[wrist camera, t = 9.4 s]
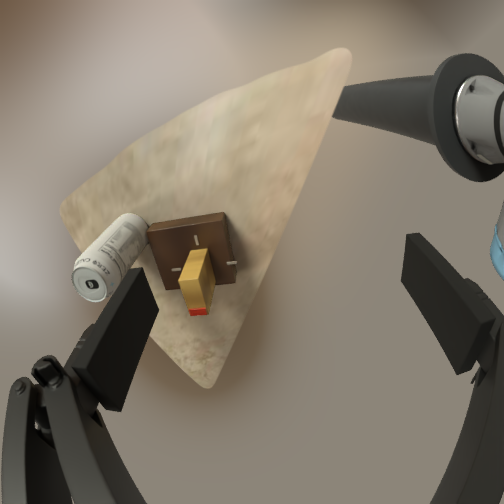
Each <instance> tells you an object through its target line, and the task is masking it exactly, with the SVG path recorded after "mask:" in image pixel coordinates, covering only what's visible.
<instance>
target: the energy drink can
mask: <svg viewBox="0 0 504 504" xmlns="http://www.w3.org/2000/svg"><path fill="white" fill-rule="evenodd" d="M148 229H149V228H148V226H147V224H146V222H145V221H144V220H143V219H142V218H141V217H139V216H137V215H135V214H130V213H128V214H123V215H121V216H120V217H119V218H117V219H116V220H115V221H114V222H113V223H112V224H111V225H110V226H109V227H108V228H107V229H106V230H105V231H104V232H103V233H102V234H101V235H100V236H99V237H98V238H97V239H96V240H95V241H94V242H93V243H92V244H91V245H90V246H89V247H88V248H87V249H86V250H85V251H84V252H83V253H82V255H81V256H80V257H79V258H78V259H77V260H76V262H75V266H74V271H73V273H72V283H73V286H74V288H75V290H76V291H77V292H78V293H79V294H80V295H81V296H82V297H83V298H85V299H87V300H89V301H92V302H100V301H102V300H103V299H105V298H106V297H109V296H111V295H113V294H114V292H115V290H116V289H117V287H118V286H119V284H120V283H121V281H122V280H123V278H124V277H125V275H126V274H127V272H128V271H129V269H130V268H131V266H132V265H133V263H134V262H135V260H136V259H137V258H138V256H139V255H140V253H141V252H142V250H143V249H144V247H145V246H146V244H147V243H148V241H149V240H148V237H147V233H146V231H147V230H148Z"/></svg>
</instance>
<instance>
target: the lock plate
mask: <svg viewBox="0 0 504 504" xmlns="http://www.w3.org/2000/svg"><path fill="white" fill-rule="evenodd" d="M146 233H147V237H148V240H149V243H150V246H151V249H152V252H153V255H154V258H155V261H156V264H157V267H158V270H159V272H160V275H161V278H162V281H163V284H164V286H165V289H166V290H173V289H181V287H180V284H179V281H178V280H179V278H180V275H181V273H182V270H183V268H184V265H185V263H186V260H187V258H188V256H189V253H190V251H191V250H199V249H207V248H208V252H209V256H210V260H211V264H212V268H213V272H214V276H215V280H216V283H215V285H223V284H232V283H235V282H236V273H237V271H236V267H235V264H237V261H234V257H233V252H232V248H231V243H230V238H229V233H228V228H227V223H226V218H225V213H224V212H221V213H215V214H208V215H202V216H195V217H189V218H183V219H177V220H171V221H165V222H159V223H153V224H152V225H151V226H150V228H149V229H148V230H147V231H146Z"/></svg>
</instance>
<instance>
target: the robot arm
mask: <svg viewBox="0 0 504 504" xmlns="http://www.w3.org/2000/svg"><path fill="white" fill-rule="evenodd" d="M452 121H453V126H454V130H455V134H456V136H457V139H458V141H459V143H460V145H461V146H462V148H463V149H464V151H465V152H466V153H467V154H468V155H469V156H470V157H472V158H473V159H475V160H478V161H480V162H483V163H488V164H495V163H504V84H502V83H500V82H498V81H496V80H494V79H493V78H490V77H487V76H484V75H471V76H468V77H466V78H465V79H463V80H462V81H461V82H460V83H459V85H458V86H457V88H456V91H455V93H454V97H453V102H452ZM490 256H491V260H492V263H493V266H494V268H495V269H496V271H497V273H498V274H499V275H500V277H501V278H502V279H503V280H504V202H503V206H502V210H501V213H500V216H499V219H498V222H497V224H496V226H495V234H494V237H493V241H492V244H491V248H490ZM401 282H402V283H403V285H404V286H405V288H406V289H407V291H408V292H409V294H410V296H411V297H412V299H413V300H414V302H415V303H416V305H417V306H418V308H419V310H420V311H421V313H422V315H423V316H424V318H425V319H426V321H427V323H428V324H429V326H430V328H431V329H432V331H433V333H434V335H435V336H436V338H437V340H438V341H439V343H440V345H441V347H442V349H443V350H444V352H445V354H446V356H447V358H448V360H449V361H450V363H451V365H452V367H453V369H454V371H455V373H456V375H459V374H461V373H464V372H467V371H469V370H471V369H472V367H473V365H474V363H475V362H476V360H477V361H478V363H479V364H480V367H479V369H478V371H477V372H476V374H475V376H474V377H473V379H472V381H471V384H473V382H474V381H475V385H474V388H473V393H472V396H471V401H470V404H469V408H468V411H467V414H466V418H465V421H464V424H463V427H462V430H461V433H460V436H459V439H458V442H457V444H456V447H455V450H454V452H453V455H452V458H451V460H450V462H449V465H448V467H447V469H446V472H445V474H444V476H443V478H442V480H441V483H440V485H439V487H438V489H437V491H436V493H435V495H434V497H433V499H432V501H431V502H430V504H499V503H500V500H501V498H502V495H503V492H504V315H503V314H502V313H501V312H500V310H499V309H498V308H497V307H496V305H495V304H494V303H493V302H492V301H491V300H490V299H489V298H488V296H487V295H486V294H485V293H483V290H482V289H481V288H480V287H479V286H478V285H477V284H476V283H475V282H473V281H472V280H470V279H468V278H466V279H463V278H462V277H461V275H460V274H459V273H458V272H457V271H456V270H455V269H454V268H453V267H452V266H451V264H450V263H449V262H448V261H447V260H446V259H445V258H444V257H443V256H442V255H441V254H440V253H439V252H438V251H437V250H436V249H435V248H434V247H433V246H432V245H431V244H430V243H429V242H428V241H427V240H426V239H425V238H424V237H423V236H422V235H421V234H420V233H412V234H407V235H406V244H405V253H404V261H403V270H402V277H401ZM158 312H159V308H158V306H157V304H156V301H155V299H154V296H153V294H152V291H151V289H150V286H149V283H148V281H147V278H146V276H145V273H144V270H143V268H142V267H141V268H132V269H129V271H128V272H127V274H126V275H125V277H124V278H123V280H122V281H121V283H120V284H119V286H118V287H117V289H116V290H115V292H114V294H113V295H112V297H111V298H110V300H109V302H108V303H107V305H106V306H105V308H104V310H103V311H102V313H101V315H100V316H99V318H98V320H97V321H96V323H95V324H91V325H90V326H89V327H88V328H87V329H86V330H85V331H84V333H83V335H82V336H81V338H80V341H78V343H77V345H76V348H74V350H73V352H72V353H71V355H70V357H69V359H68V360H67V362H66V364H65V366H64V368H63V367H62V366H61V364H60V363H59V362H58V361H57V359H56V358H55V357H54V356H52V355H47V356H44V357H42V358H41V359H39V360H38V361H37V362H36V363H35V364H34V366H33V368H32V372H31V374H32V375H33V377H34V378H35V379H36V380H37V382H38V383H39V384H35V385H34V384H33V383H32V382H31V380H30V379H29V378H27V377H21V378H19V379H17V380H16V381H15V382H14V383H13V385H12V386H11V389H10V394H9V399H8V405H7V411H6V418H5V427H4V437H3V448H2V450H3V451H2V475H1V476H2V504H72V498H73V501H74V503H75V504H147V503H146V502H145V500H144V498H143V497H142V495H141V493H140V492H139V490H138V488H137V487H136V485H135V483H134V481H133V480H132V478H131V476H130V474H129V473H128V471H127V469H126V467H125V465H124V463H123V461H122V459H121V457H120V455H119V453H118V451H117V449H116V447H115V445H114V443H113V441H112V439H111V437H110V434H109V432H108V430H107V428H106V425H105V423H104V421H103V418H102V416H101V413H100V412H99V411H98V409H97V406H98V403H99V402H100V403H101V405H102V406H103V407H104V408H105V409H106V410H111V411H117V412H121V411H122V408H123V405H124V402H125V399H126V396H127V393H128V390H129V387H130V385H131V382H132V379H133V376H134V374H135V371H136V368H137V365H138V363H139V360H140V357H141V355H142V352H143V349H144V347H145V344H146V342H147V339H148V337H149V334H150V332H151V329H152V327H153V324H154V322H155V319H156V317H157V314H158ZM35 422H36V423H37V424H38V429H36V428H35ZM71 496H72V498H71Z"/></svg>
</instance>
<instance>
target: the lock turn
mask: <svg viewBox="0 0 504 504" xmlns="http://www.w3.org/2000/svg"><path fill="white" fill-rule="evenodd" d="M178 281H179V284H180V287H181V290H182V293H183V296H184V299H185V302H186V305H187V308H188V311H189V314H190V316H197V315H208V314H209V311H210V306H211V301H212V297H213V292H214V287H215V283H216V280H215V276H214V272H213V268H212V264H211V260H210V256H209V252H208V248H207V249H199V250H191V251H190V253H189V256H188V258H187V260H186V263H185V265H184V268H183V270H182V273H181V275H180V278H179V280H178Z"/></svg>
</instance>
